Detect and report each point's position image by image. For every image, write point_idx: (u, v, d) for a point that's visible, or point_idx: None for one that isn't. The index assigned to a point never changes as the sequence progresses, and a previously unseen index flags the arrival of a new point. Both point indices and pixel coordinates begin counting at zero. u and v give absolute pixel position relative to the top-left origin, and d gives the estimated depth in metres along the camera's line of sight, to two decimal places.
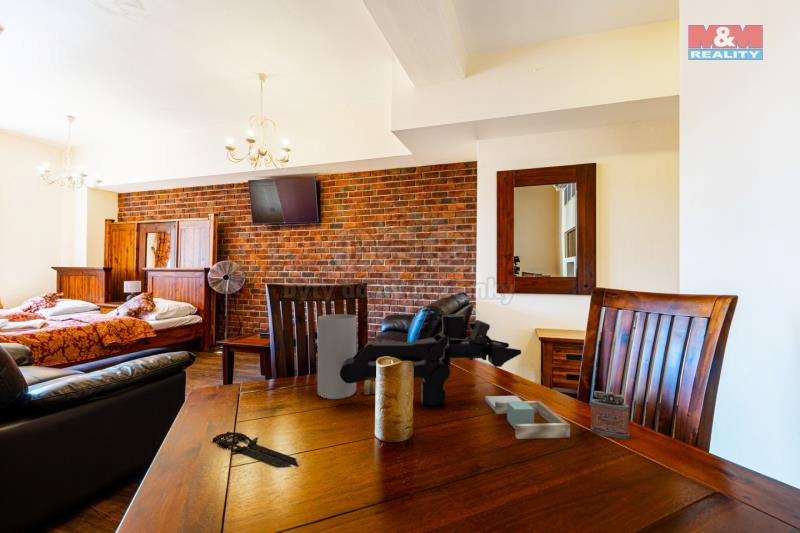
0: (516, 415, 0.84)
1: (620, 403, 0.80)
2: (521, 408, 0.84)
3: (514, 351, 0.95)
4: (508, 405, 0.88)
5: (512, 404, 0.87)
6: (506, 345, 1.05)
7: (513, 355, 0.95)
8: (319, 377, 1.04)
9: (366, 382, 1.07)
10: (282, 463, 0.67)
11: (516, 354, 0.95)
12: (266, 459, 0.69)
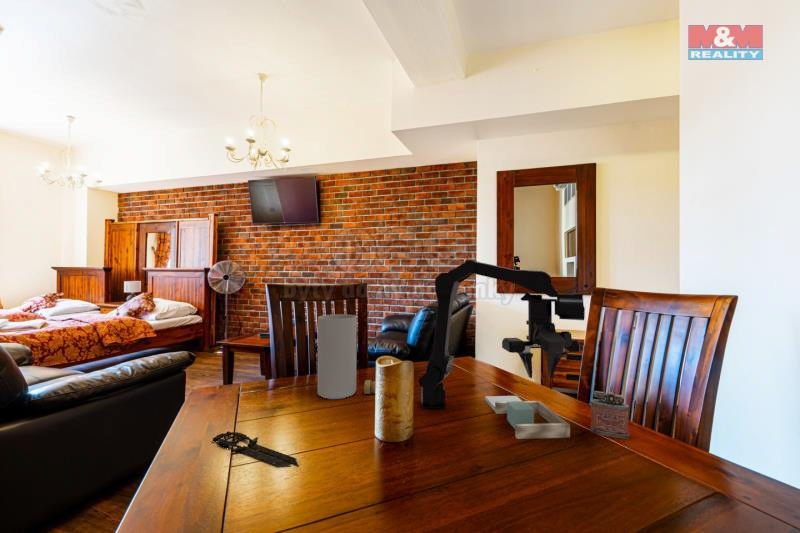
0: (516, 415, 0.84)
1: (620, 403, 0.80)
2: (521, 408, 0.84)
3: (527, 369, 0.86)
4: (508, 405, 0.88)
5: (512, 404, 0.87)
6: (549, 374, 0.87)
7: (525, 366, 0.87)
8: (319, 377, 1.04)
9: (366, 382, 1.07)
10: (282, 463, 0.67)
11: (526, 370, 0.87)
12: (266, 458, 0.69)
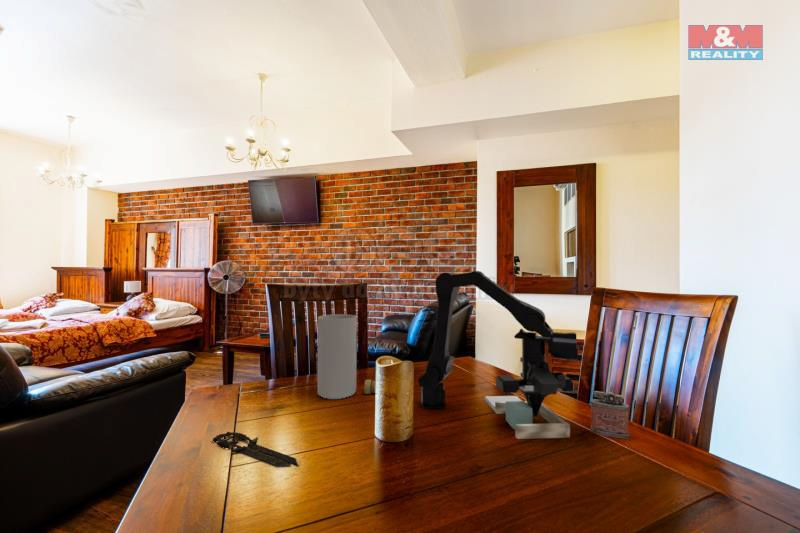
0: (514, 414, 0.83)
1: (620, 403, 0.80)
2: (519, 408, 0.84)
3: None
4: (506, 405, 0.88)
5: (510, 403, 0.87)
6: None
7: (528, 404, 0.87)
8: (319, 377, 1.04)
9: (366, 381, 1.08)
10: (282, 463, 0.67)
11: None
12: (266, 459, 0.69)
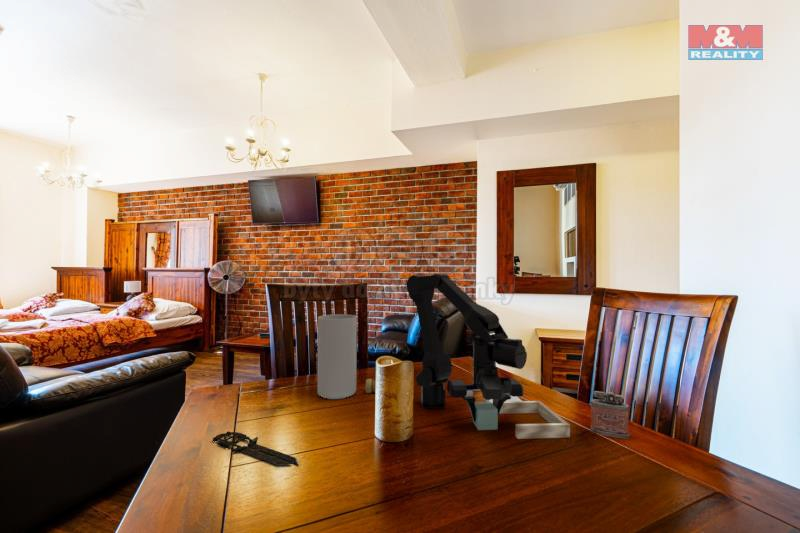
0: (479, 415, 0.83)
1: (620, 403, 0.80)
2: (485, 409, 0.83)
3: (471, 413, 0.85)
4: None
5: (477, 404, 0.86)
6: None
7: None
8: (319, 377, 1.04)
9: (368, 381, 1.08)
10: (282, 462, 0.67)
11: (471, 414, 0.86)
12: (266, 458, 0.69)
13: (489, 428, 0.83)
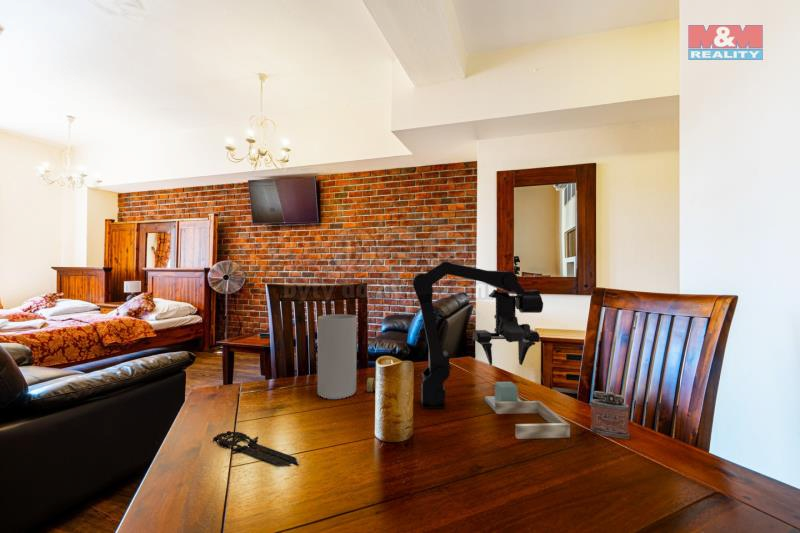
0: (502, 392, 0.96)
1: (620, 403, 0.80)
2: (506, 386, 0.96)
3: (488, 358, 0.98)
4: (495, 384, 1.00)
5: (499, 383, 0.99)
6: (519, 361, 0.99)
7: (486, 355, 0.99)
8: (319, 377, 1.04)
9: (369, 379, 1.10)
10: (282, 462, 0.68)
11: None
12: (266, 458, 0.69)
13: None
